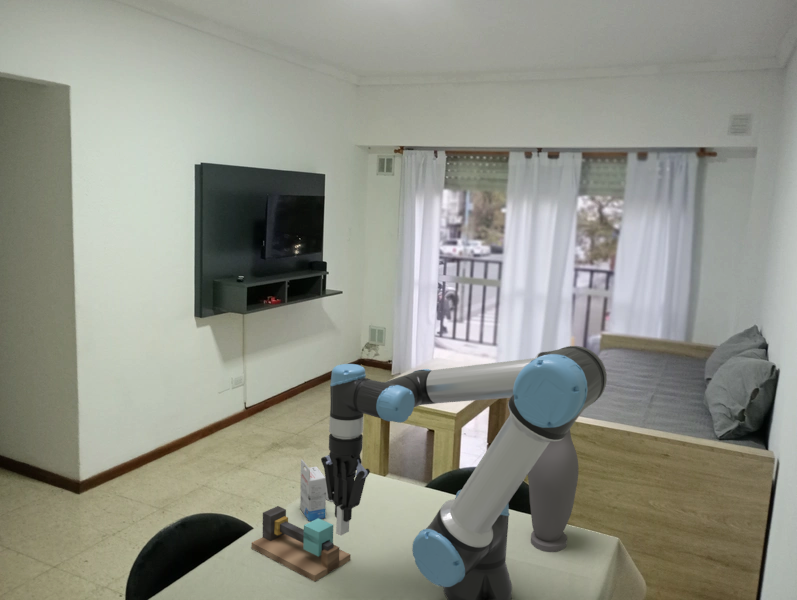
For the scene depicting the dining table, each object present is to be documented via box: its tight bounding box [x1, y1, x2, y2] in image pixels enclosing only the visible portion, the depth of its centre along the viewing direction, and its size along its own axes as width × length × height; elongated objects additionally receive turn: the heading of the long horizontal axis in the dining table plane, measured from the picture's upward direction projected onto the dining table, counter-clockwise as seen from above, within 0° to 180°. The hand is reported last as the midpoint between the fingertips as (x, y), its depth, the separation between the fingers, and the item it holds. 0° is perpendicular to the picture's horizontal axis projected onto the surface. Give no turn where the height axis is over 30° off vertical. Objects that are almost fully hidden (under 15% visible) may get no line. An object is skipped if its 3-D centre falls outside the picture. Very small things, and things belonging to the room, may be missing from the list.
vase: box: [527, 429, 579, 553], centre depth 165 cm, size 13×13×35 cm
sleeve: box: [303, 518, 334, 557], centre depth 152 cm, size 5×5×6 cm
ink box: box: [299, 458, 327, 522], centre depth 177 cm, size 9×5×15 cm, turn 25°
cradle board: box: [251, 505, 352, 582], centre depth 156 cm, size 22×12×8 cm, turn 52°
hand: (342, 532), depth 147 cm, fingers closed
